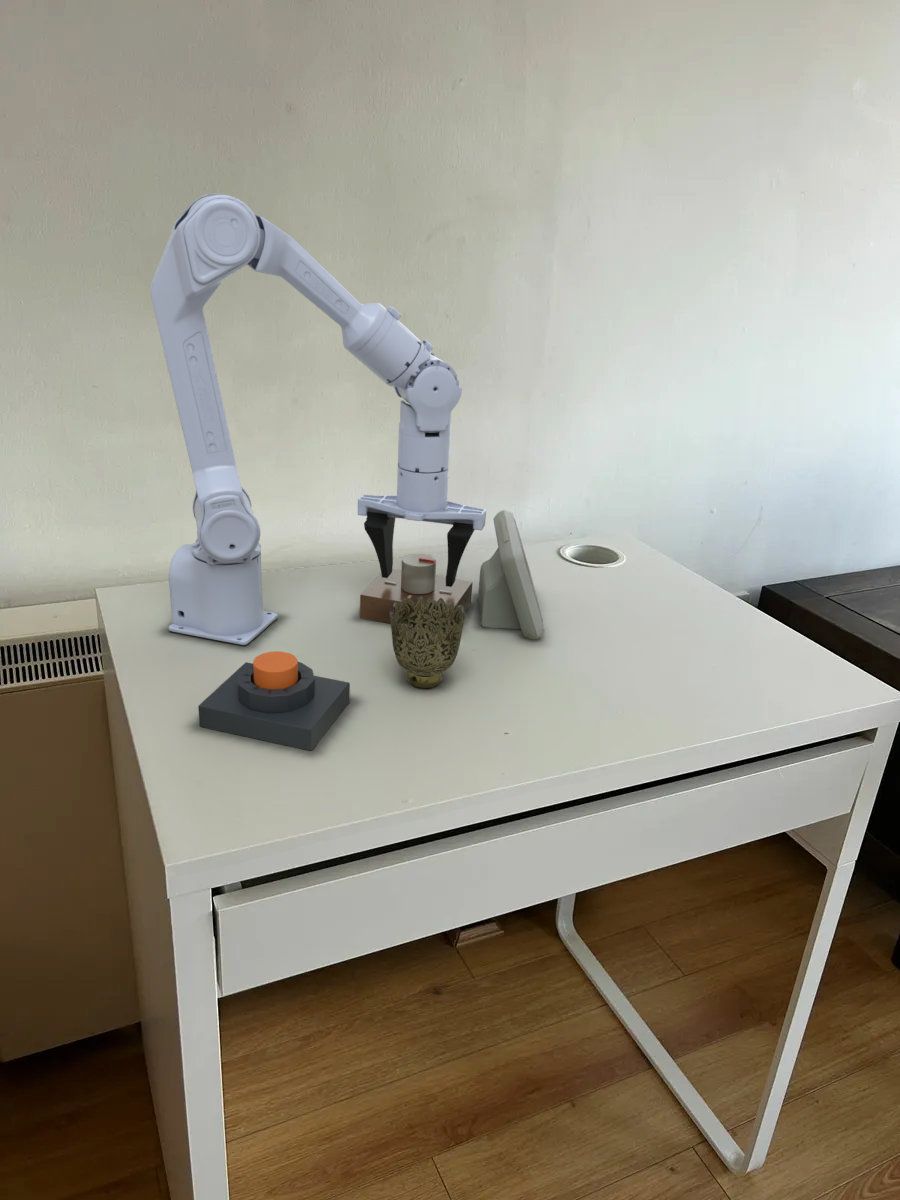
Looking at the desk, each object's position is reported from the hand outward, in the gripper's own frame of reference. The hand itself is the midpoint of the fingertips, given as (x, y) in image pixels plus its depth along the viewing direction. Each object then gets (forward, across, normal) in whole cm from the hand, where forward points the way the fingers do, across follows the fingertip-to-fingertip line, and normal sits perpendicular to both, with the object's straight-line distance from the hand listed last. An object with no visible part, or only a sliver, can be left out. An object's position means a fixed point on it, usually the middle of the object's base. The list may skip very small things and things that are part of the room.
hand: (418, 579), depth 105 cm
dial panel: (+4, 0, 0) cm, 4 cm away
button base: (+4, -7, -27) cm, 28 cm away
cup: (+4, +5, -16) cm, 18 cm away
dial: (+1, 0, 0) cm, 1 cm away
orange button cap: (+1, -7, -27) cm, 27 cm away
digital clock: (+4, +11, +3) cm, 12 cm away
